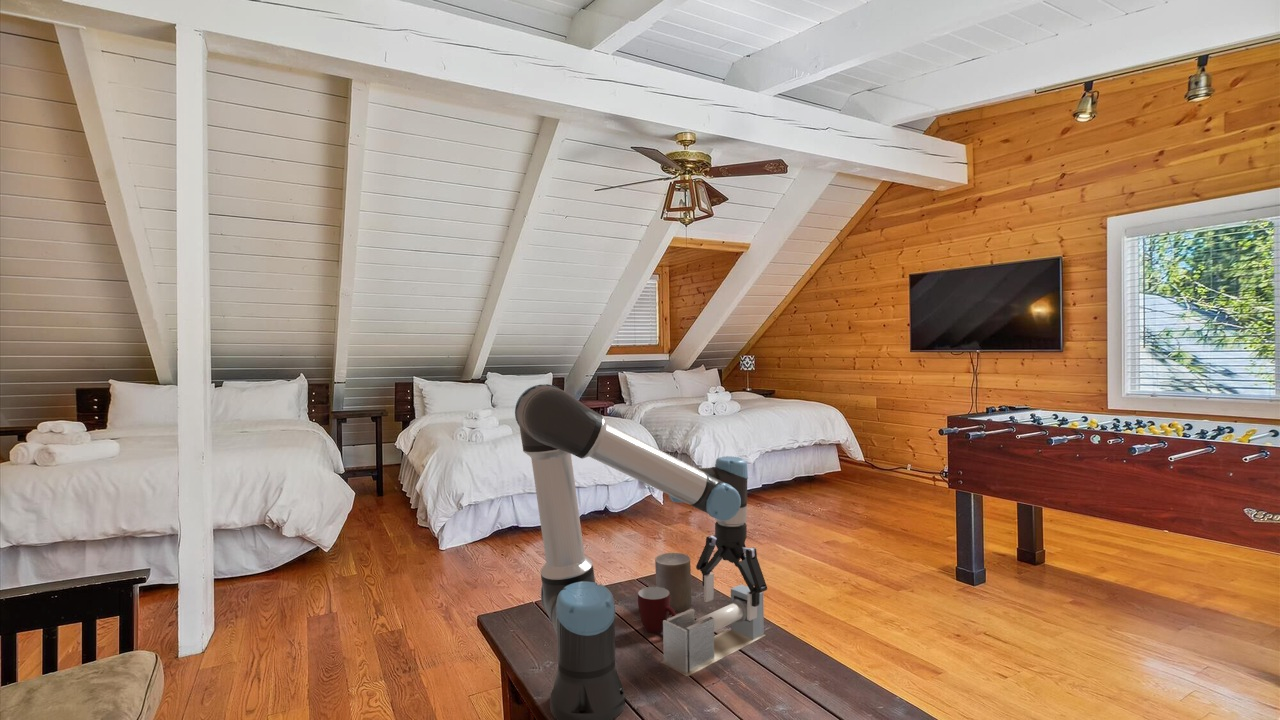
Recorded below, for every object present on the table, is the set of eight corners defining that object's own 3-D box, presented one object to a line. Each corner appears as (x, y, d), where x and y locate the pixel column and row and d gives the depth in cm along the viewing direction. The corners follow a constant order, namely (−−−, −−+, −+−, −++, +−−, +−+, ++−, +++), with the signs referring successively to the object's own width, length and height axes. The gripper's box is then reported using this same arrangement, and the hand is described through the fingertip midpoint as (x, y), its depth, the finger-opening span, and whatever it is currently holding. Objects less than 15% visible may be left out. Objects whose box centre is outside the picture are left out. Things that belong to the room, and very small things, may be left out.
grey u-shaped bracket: (685, 674, 143) (685, 631, 142) (663, 662, 148) (663, 620, 148) (714, 659, 149) (713, 618, 148) (692, 648, 154) (691, 608, 154)
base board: (687, 680, 142) (687, 676, 142) (660, 665, 148) (660, 662, 148) (766, 638, 160) (765, 635, 160) (739, 627, 167) (739, 623, 167)
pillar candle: (697, 604, 180) (696, 551, 180) (681, 618, 172) (679, 562, 171) (667, 598, 185) (665, 545, 185) (649, 611, 177) (647, 556, 177)
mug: (684, 630, 165) (684, 592, 164) (670, 644, 158) (669, 604, 158) (648, 622, 170) (647, 584, 170) (632, 635, 163) (631, 595, 163)
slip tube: (708, 643, 149) (707, 620, 148) (691, 635, 153) (691, 613, 152) (758, 618, 161) (757, 598, 160) (741, 612, 164) (741, 591, 164)
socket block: (753, 639, 158) (752, 597, 158) (731, 629, 163) (730, 588, 163) (763, 634, 161) (763, 592, 160) (741, 624, 166) (741, 584, 165)
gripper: (783, 531, 150) (781, 622, 151) (703, 508, 169) (702, 589, 170) (762, 537, 145) (761, 631, 146) (682, 513, 164) (681, 597, 165)
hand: (729, 609), depth 158 cm, fingers open, 13 cm apart
